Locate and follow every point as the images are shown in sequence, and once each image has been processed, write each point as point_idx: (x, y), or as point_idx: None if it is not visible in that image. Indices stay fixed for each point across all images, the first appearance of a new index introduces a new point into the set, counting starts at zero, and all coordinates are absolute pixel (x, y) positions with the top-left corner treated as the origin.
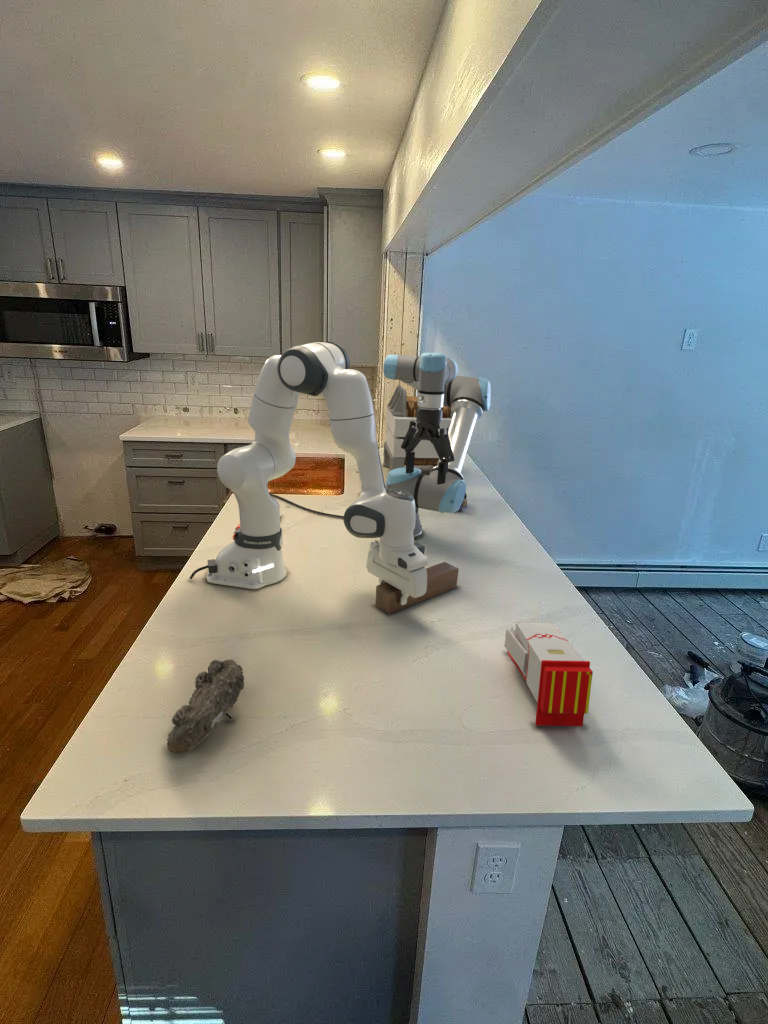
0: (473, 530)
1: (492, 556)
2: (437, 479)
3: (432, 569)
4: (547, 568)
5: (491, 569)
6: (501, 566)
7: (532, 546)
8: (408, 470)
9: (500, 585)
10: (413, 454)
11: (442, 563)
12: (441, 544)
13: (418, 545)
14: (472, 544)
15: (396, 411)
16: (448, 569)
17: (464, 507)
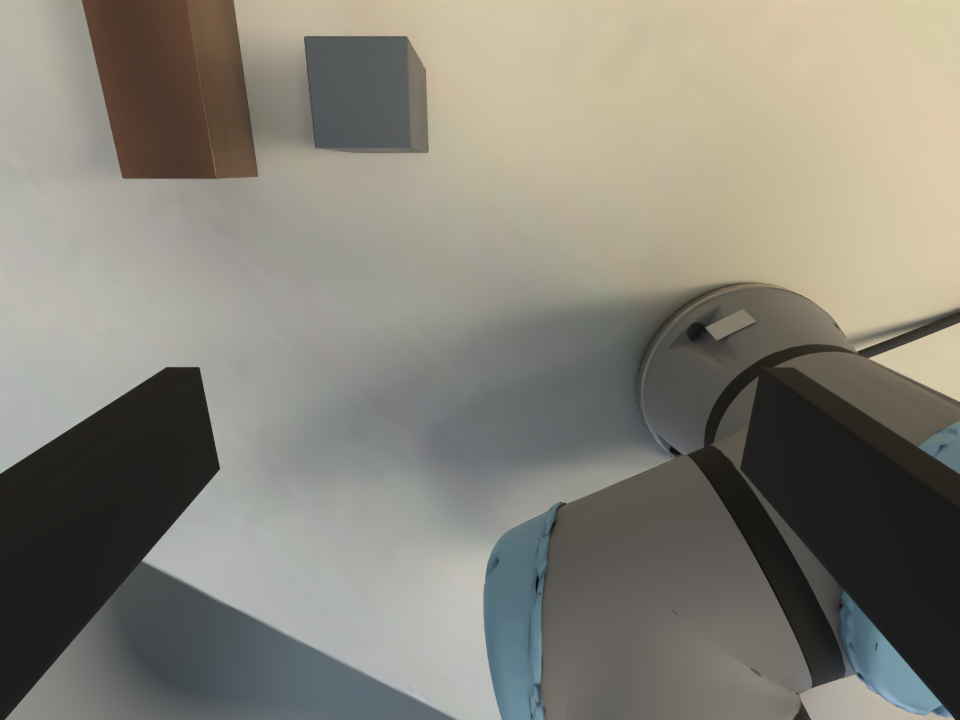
0: None
1: (331, 494)
2: (162, 392)
3: (163, 45)
4: (161, 561)
5: (245, 409)
6: (247, 456)
7: (322, 650)
8: (780, 402)
9: (119, 334)
10: (944, 665)
11: (203, 151)
12: (527, 426)
13: (337, 115)
14: (454, 515)
15: None
16: (130, 123)
17: None
